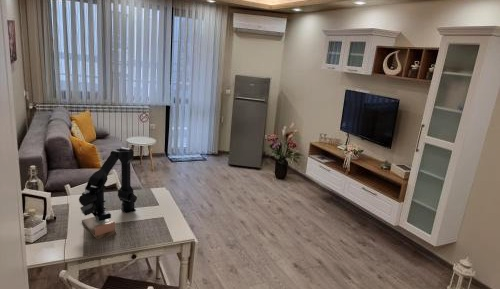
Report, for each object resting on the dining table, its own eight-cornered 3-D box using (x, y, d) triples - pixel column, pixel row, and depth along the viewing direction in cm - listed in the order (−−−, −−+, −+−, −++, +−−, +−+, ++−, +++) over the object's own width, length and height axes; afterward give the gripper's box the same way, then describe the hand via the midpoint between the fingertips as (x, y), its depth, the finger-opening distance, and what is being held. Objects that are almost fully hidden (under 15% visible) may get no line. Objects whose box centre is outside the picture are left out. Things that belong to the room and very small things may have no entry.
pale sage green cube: (106, 225, 188) (105, 217, 186) (109, 229, 184) (109, 221, 183) (94, 228, 184) (94, 220, 182) (98, 232, 180) (98, 224, 179)
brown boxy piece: (100, 217, 199) (99, 207, 197) (116, 233, 184) (116, 222, 182) (81, 222, 192) (81, 211, 190) (97, 239, 177) (96, 228, 175)
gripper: (75, 194, 183) (77, 220, 188) (88, 209, 171) (89, 236, 175) (97, 190, 191) (98, 215, 196) (111, 203, 178) (111, 230, 183)
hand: (98, 224), depth 187 cm, fingers closed
